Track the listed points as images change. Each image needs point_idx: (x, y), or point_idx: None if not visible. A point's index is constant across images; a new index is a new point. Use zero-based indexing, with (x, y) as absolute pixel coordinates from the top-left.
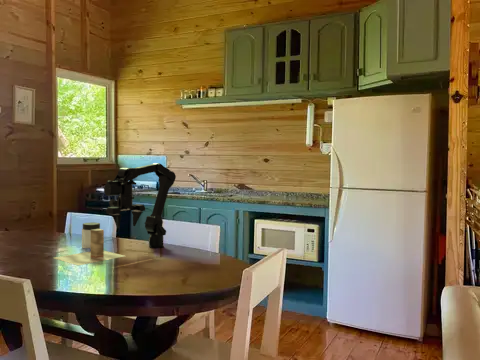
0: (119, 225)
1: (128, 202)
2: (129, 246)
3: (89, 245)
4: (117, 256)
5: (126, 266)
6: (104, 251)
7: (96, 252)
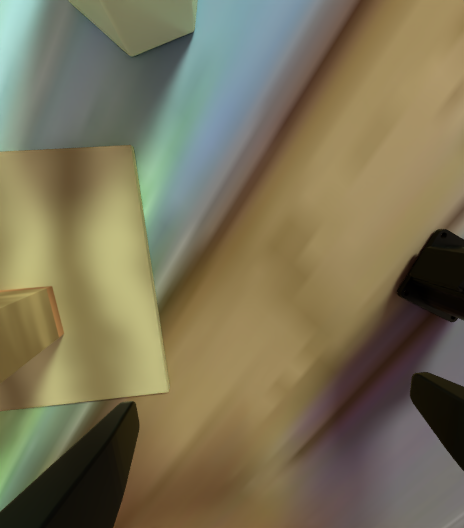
0: (111, 500)
1: None
2: (353, 155)
3: (82, 3)
4: (126, 376)
5: None
6: (128, 219)
7: None
